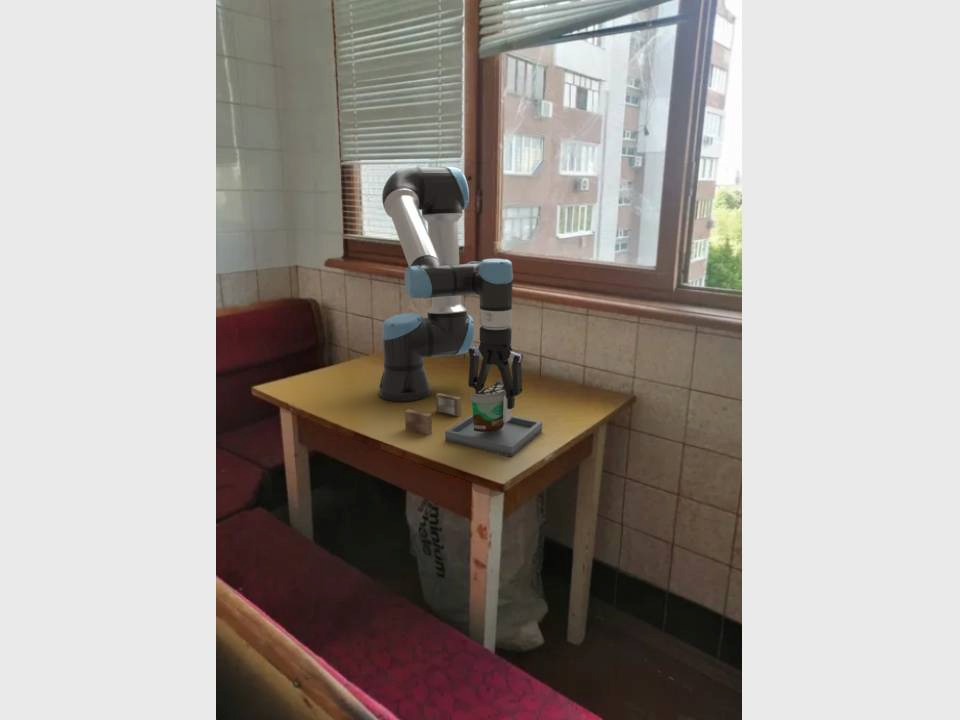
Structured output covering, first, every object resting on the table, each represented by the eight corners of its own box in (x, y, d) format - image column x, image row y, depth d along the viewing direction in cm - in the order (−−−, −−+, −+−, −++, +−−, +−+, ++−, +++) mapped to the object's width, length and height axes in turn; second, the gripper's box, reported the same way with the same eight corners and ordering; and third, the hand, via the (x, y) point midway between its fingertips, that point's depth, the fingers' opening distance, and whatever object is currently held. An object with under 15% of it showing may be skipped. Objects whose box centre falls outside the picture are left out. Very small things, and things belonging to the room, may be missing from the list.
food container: (492, 438, 138) (492, 398, 135) (470, 432, 141) (470, 393, 139) (517, 421, 148) (518, 383, 146) (496, 416, 151) (496, 379, 149)
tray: (445, 440, 143) (445, 431, 142) (480, 417, 157) (480, 409, 156) (511, 457, 134) (511, 447, 134) (541, 431, 148) (542, 422, 148)
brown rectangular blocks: (405, 429, 149) (404, 411, 148) (439, 410, 162) (439, 392, 161) (428, 435, 146) (427, 416, 145) (461, 414, 159) (461, 397, 158)
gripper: (452, 324, 139) (453, 415, 146) (525, 334, 130) (523, 431, 137) (468, 318, 145) (469, 405, 152) (539, 327, 136) (536, 420, 143)
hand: (494, 417), depth 144 cm, fingers closed on food container, 6 cm apart
